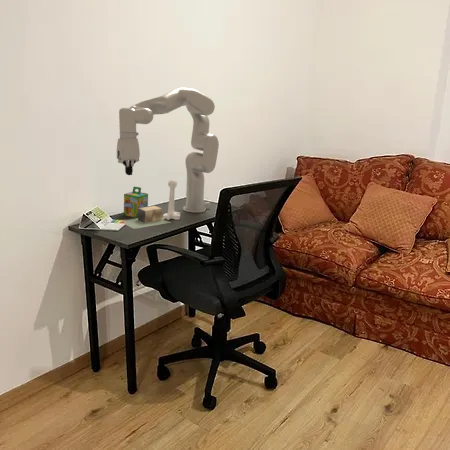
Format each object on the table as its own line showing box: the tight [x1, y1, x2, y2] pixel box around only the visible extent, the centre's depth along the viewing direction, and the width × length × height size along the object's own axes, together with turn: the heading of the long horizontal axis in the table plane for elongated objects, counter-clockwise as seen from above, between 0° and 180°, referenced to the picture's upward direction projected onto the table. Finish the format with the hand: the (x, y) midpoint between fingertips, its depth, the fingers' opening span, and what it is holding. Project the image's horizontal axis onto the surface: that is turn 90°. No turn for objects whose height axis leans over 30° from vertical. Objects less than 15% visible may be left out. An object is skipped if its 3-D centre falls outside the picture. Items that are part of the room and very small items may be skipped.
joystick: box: [162, 179, 181, 221], centre depth 240 cm, size 11×8×20 cm
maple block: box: [138, 205, 163, 223], centre depth 236 cm, size 6×6×10 cm
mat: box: [122, 217, 172, 230], centre depth 234 cm, size 21×15×1 cm
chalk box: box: [123, 186, 149, 218], centre depth 243 cm, size 9×9×15 cm
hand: (129, 174), depth 225 cm, fingers closed
